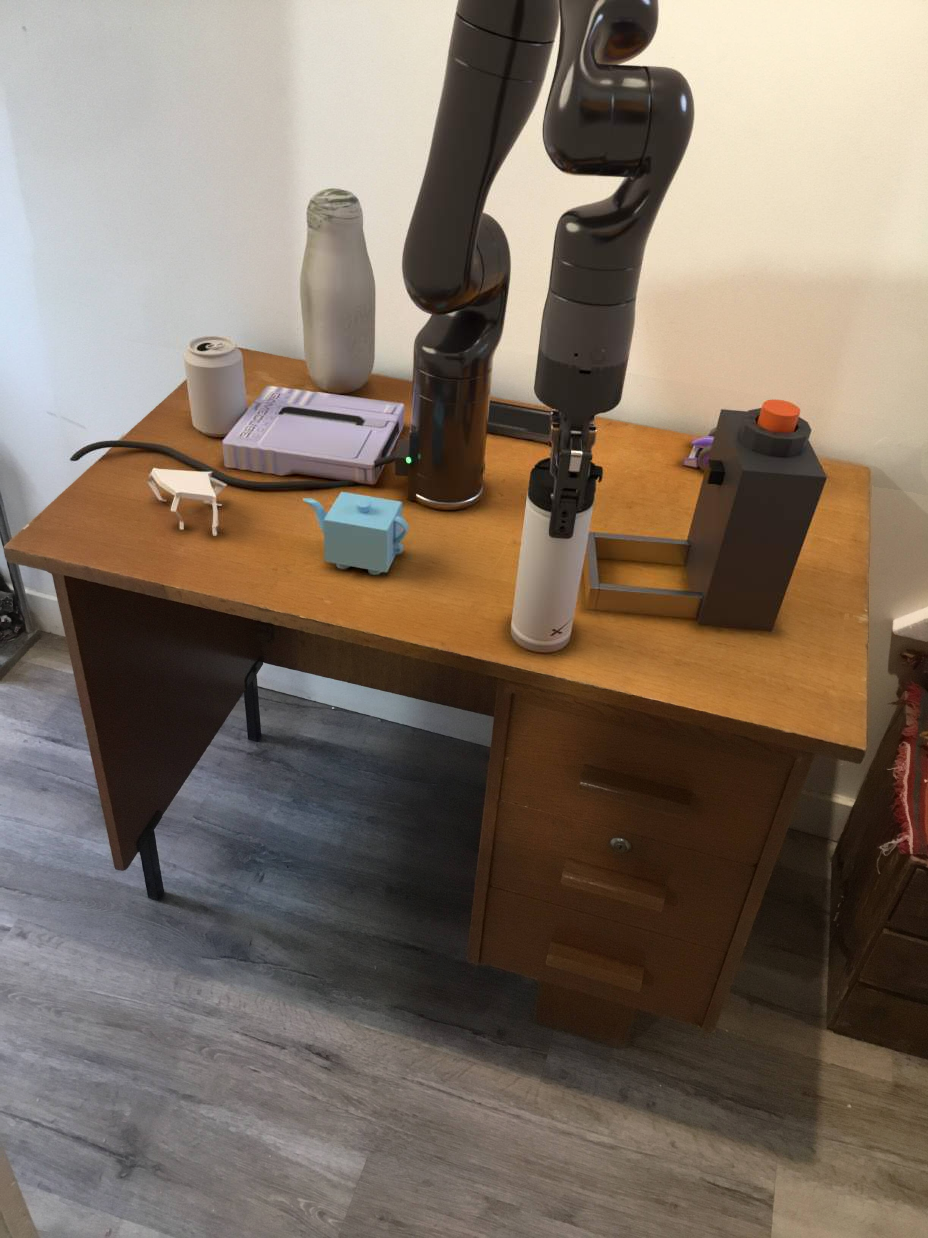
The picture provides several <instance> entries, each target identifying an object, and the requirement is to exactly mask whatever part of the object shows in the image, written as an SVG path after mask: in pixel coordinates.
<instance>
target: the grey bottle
mask: <svg viewBox="0 0 928 1238" xmlns="http://www.w3.org/2000/svg"><path fill="white" fill-rule="evenodd" d="M362 208H363V207H362V205H361V203H360V200H359V198H358V197H357V196H356V195H355V193H353V192H352V191H349V190H345V189H341V188H326V189H322V190H320V191H318V192H315V194H313V195H312V197H311V198H310V200H308V204H307V207H306V226H307V227H306V244H305V247H304V253H303V258H302V264H301V270H300V275H299V276H300V277H299V279H300V280H299V298H300V309H301V311H300V312H301V320H302V331H303V332H302V334H303V351H304V352H303V353H304V359H305V365H306V367H307V371H308V373H309V376H310V379H311V380H312V382H313V383H314V384H315V385H316V386H317V387H318V388H319V389H321V390H323V391H325V392H326V393H329V394H336V395H341V394H342V395H343V394H349V393H352V392H355V391H357V390H359V389H360V388H362V387H363V386H364V385H365V384H366V383H367V382H368V380H369V379H370V376H371V375H372V372H373V370H374V366H375V365H374V364H375V358H376V299H377V298H376V295H377V294H376V280H375V275H374V270H373V265H372V263H371V259H370V256H369V253H368V248H367V242H366V238H365V232H364V211H363V209H362Z"/></svg>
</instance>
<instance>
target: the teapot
mask: <svg viewBox="0 0 928 1238" xmlns="http://www.w3.org/2000/svg"><path fill="white" fill-rule="evenodd" d="M302 500H303V502H304V503H307V504H308V505H309V506H310V507H311V508H312V510H313V511H314V514H315V516H316V521H317V523H318V526H319V529H320V530H321V532H322V533H323V543H324V544H323V548H324V562H326V563H330V564H331V563H332V564H336V567H337V568H338V569H341V570H346V569H349V568H350V567H353V568H358V569H365V570H367V572H368V574H370V575H376V576H377V575H380V574H381V573H388V571H389V569H390V567H391V565H392V563H393V561H394V559H395V557H396V555H399V554H401V553H402V552H403V551H404V545H403V544H402V541H403V539H404V538H406V536H407V534H408V532H409V524H408V522H407V521H406V520H405V518H403V502H402V501H400V500H399V501H398V500H392V499H387V498H382V497H376V496H369V495H364V494H357V493H352V492H345V491H340V493H339V494H338V496H337V498H336V499H335V501H334V502H333V504H332V506H331V507H330V509H329V510H328V512H326V510H325V509H324V507H323V505H322V504H321V503H320V502H319V501H318V500H317V499H314V498H311V497H304V498H302Z"/></svg>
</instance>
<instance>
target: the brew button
mask: <svg viewBox="0 0 928 1238" xmlns="http://www.w3.org/2000/svg"><path fill="white" fill-rule="evenodd" d="M761 408H762V409H761V412H760V415H759V419H758V422H757V423H758V425H760V426H761V427H763V428H764V429H766V430H770V431H773V432H777V433H791V432H794V430H795V427H796V424H797V421H798V418H799V417H800V415H801V409H800V407H799V406H798V405H796V404H795V403H792V402H790V401H787V400H784V399H783V400H782V399H767V400H765V401H764V402H763V403H762V406H761Z"/></svg>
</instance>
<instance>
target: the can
mask: <svg viewBox="0 0 928 1238" xmlns="http://www.w3.org/2000/svg"><path fill="white" fill-rule="evenodd" d="M186 347H187V350H186V351H185V352H184V354H183V363H184V370H185V378H186V387H187V393H188V400H189V409H190V415H191V422H192V426H193V427H194V428H195V429H196V430H197V431H199V432H201V434H204V435H205V436H209V437H214V438H223V437H224V438H225V437H226V436H227V435H228V434H229V432H230V431H231V430H232V429H233V427H234V426H235V425H236V424H237V422H238V421H239V420H240V419H241V417H242V416H243V415H244V414H245V413H246V411H247V410H248V400H247V399H248V398H247V389H246V379H245V370H244V369H245V368H244V359H243V353H242V351H241V350H240V349H238V347H237V342H236V341H235V340H234V339H233V338H231V337H227V336H224V335H214V334H211V335H210V334H209V335H201V336H197V337H194V338H192V339H191V340H189V341H188V342H187V344H186Z"/></svg>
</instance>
